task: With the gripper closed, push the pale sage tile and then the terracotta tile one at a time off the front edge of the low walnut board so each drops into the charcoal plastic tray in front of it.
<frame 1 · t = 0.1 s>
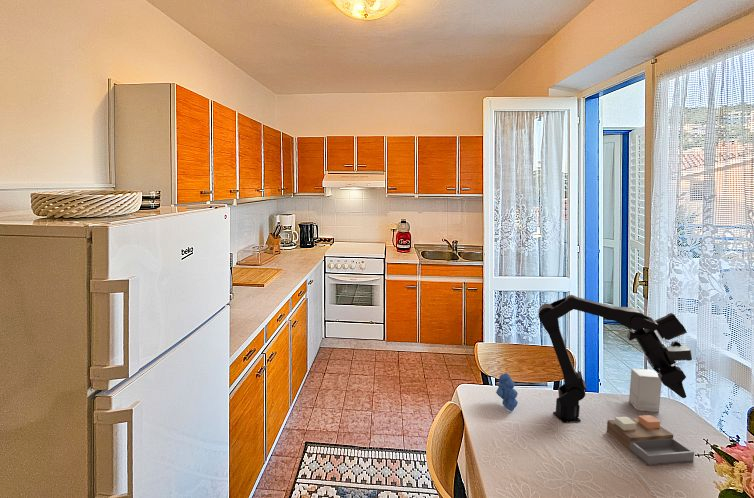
hand: (679, 391, 130), 15 cm above the table, fingers open, 9 cm apart
supplement box: (643, 407, 151), on the table
sage tile: (625, 426, 130), point 4 cm above the table, touching walnut board
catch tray: (660, 456, 121), on the table
walnut board: (638, 439, 130), on the table
grapes: (504, 408, 149), on the table
terracotta tile: (648, 424, 131), point 4 cm above the table, touching walnut board
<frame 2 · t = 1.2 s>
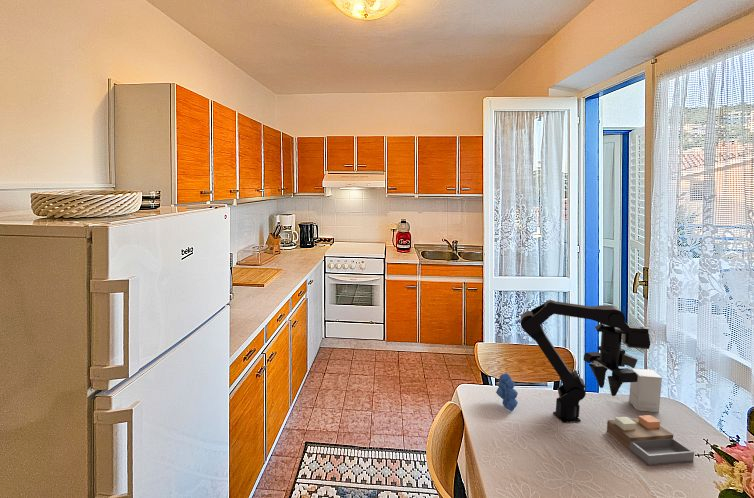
hand: (607, 391, 138), 11 cm above the table, fingers open, 6 cm apart
nothing on the table moved.
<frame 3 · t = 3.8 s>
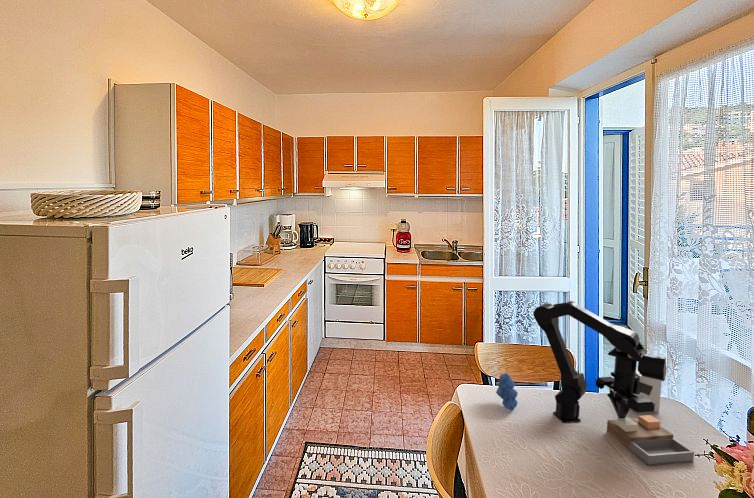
hand: (621, 419, 132), 5 cm above the table, fingers closed
sage tile: (627, 427, 129), point 4 cm above the table, touching gripper
everything else where it was.
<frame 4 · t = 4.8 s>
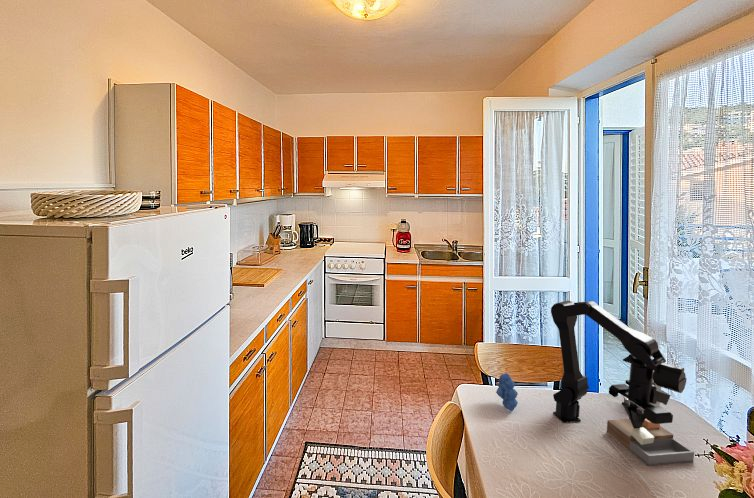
hand: (636, 429, 125), 5 cm above the table, fingers closed
sage tile: (641, 438, 124), point 4 cm above the table, tilted 14°, touching gripper, walnut board
everything else where it was.
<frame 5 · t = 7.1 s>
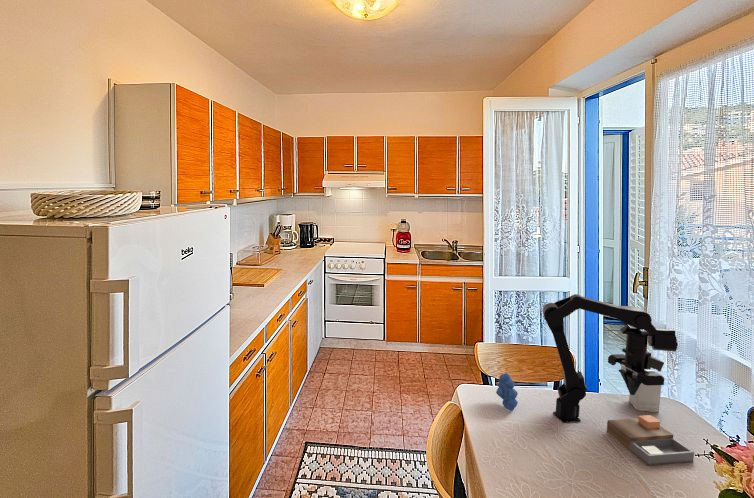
hand: (632, 394, 136), 11 cm above the table, fingers closed
sage tile: (652, 450, 120), point 3 cm above the table, tilted 180°, touching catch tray
everything else where it was.
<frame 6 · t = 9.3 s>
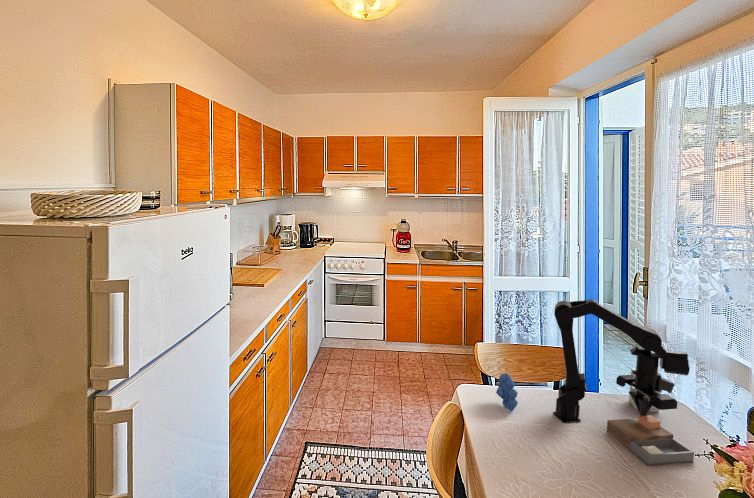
hand: (642, 417, 133), 5 cm above the table, fingers closed
terracotta tile: (649, 424, 131), point 4 cm above the table, touching gripper
everything else where it was.
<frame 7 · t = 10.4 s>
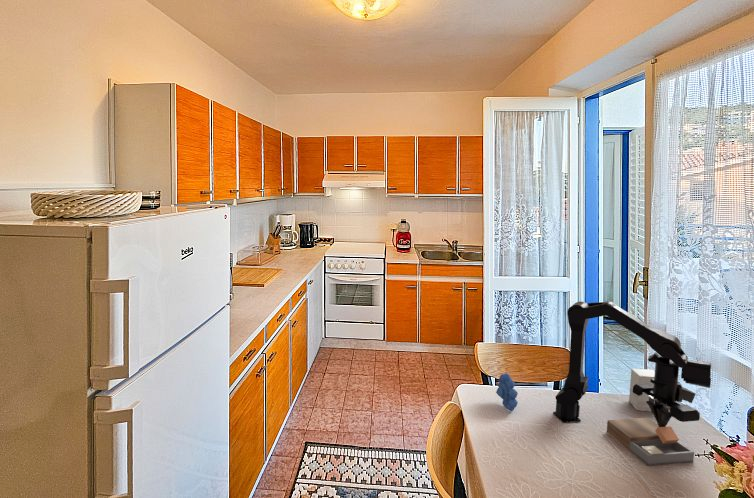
hand: (661, 428, 126), 6 cm above the table, fingers closed
terracotta tile: (665, 436, 125), point 4 cm above the table, tilted 33°
everything else where it was.
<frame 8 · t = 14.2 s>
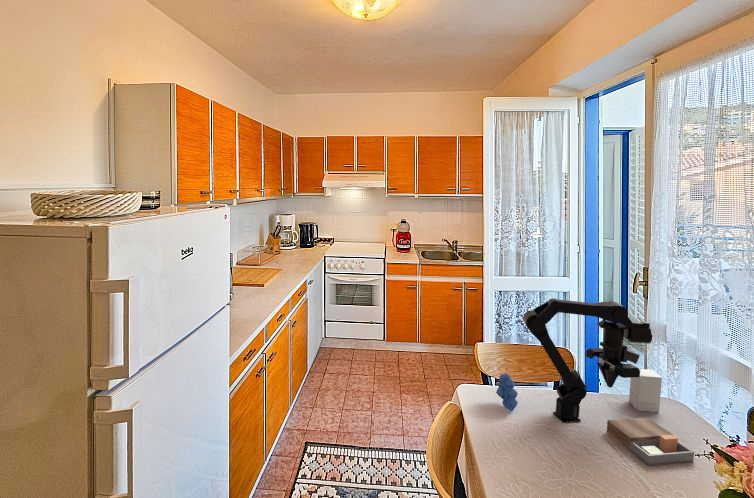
hand: (609, 387, 139), 12 cm above the table, fingers closed
terracotta tile: (665, 441, 124), point 3 cm above the table, tilted 90°, touching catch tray
everything else where it was.
at the end: sage tile inside the target area on the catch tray (3.4 cm from its centre), point 2.6 cm above the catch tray's base; terracotta tile inside the target area on the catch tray (4.8 cm from its centre), point 2.6 cm above the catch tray's base; supplement box moved 0.2 cm from its start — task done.
